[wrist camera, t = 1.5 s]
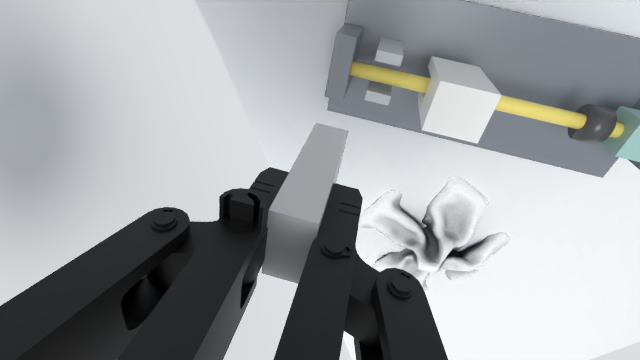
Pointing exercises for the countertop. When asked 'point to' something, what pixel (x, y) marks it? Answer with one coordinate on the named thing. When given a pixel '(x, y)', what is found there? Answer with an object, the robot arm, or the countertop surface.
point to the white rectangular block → (457, 100)
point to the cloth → (435, 233)
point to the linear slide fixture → (496, 77)
